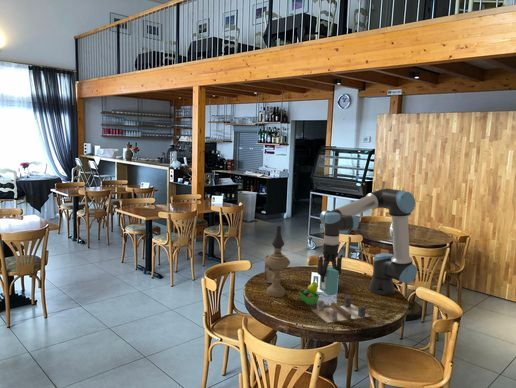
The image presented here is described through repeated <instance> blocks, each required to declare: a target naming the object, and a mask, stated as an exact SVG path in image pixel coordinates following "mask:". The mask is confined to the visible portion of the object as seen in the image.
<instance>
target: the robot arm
mask: <svg viewBox="0 0 516 388" xmlns="http://www.w3.org/2000/svg"><path fill="white" fill-rule="evenodd" d="M415 207H416V199H415V196H414V195H413V194H412V193H411V192H409V191H406V190H401V189H393V188H392V189H391V188H382V189H378V190H375V191H371V192H370V193H367V194H366V195H365V196H364V197H362V198H360V199H357V200H355V201H352V202H350V203H347V204H344V205H342V206H340V207H337V208H335V209H332V210H323V211H322V212H320V215H319V221H320V222H321V223H322V224H324V225H323V226H324V228H323V229H324V232H323V248H322V249H323V250H322V251H323V253H322V254H321V255H318V256H317V259H318V263H317V275H319V276H321V282H322V288H323V289H326V276H325V274H326V271H327V267H328V266H329V264H330V262H331V267H332V268H333V269H335V270H337V271H339V275H340V274H341V273H342V263H343V262H342V261H343V260H342V259H343V254H341V253H339V248H340V247H339V246H340V245H339V243H340V232H343V231H344V232H345V231H352V230H356V229H358V227H359V224H360V221H359V218H358V217H357V215H360V214H362V213H365V212H368V211H369V210H376V209H386V210H388V215H389V216H390V217H391V224H392V225H391V226H392V247H393V253H386V252H385V253H383V252H381V253H376V254H375V255H374V260H373V267H372V268H373V269H372V278H371V281H370V283H369V286H368V289H369V290H368V291H370V292H371V293H373V294H377V295H382V296H391V295H393V294H395V293H396V292H395V291H396V289H395V285H394V281H393V280H396V281H398V282H400V283H403V284H410V283H412V282H413V281H414V280H415V279H416V277H417V274H418V267H417V266H416V265H415V264H414V263H413V258H412V257H411V256H410V239H409V238H410V235H409V217H410V216H411V215H412V214H411V213H413V211H414V210H415Z"/></svg>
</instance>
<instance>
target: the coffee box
mask: <svg viewBox="0 0 516 388" xmlns="http://www.w3.org/2000/svg"><path fill="white" fill-rule="evenodd" d="M269 255H270V254H269ZM269 255H268V254H267V255H266V256H265V258H264V260H265V259H266V258H267V257H268V256H269ZM279 274H280V275H281V271H280V272H279ZM273 275H274V270H273V269H272V268H270V267H268V266H267V265H266V264H265V263H264V278H263V279H264V280H263V281H264V283H268V284H272V279H271V277H272V276H273Z"/></svg>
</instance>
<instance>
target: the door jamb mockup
mask: <svg viewBox="0 0 516 388" xmlns="http://www.w3.org/2000/svg"><path fill="white" fill-rule="evenodd" d="M343 298H344V299H343V305H339V304H337V303H336V302H330V307H329V306H328V307H325V300H323V299H320V300H319V299H318V301H317V304H316V308H314V309H311V311H312V312H313V313H314V314H315V315H317V316H318V317H320V319H322V320H323V321H324V322H325V323H327V324H328V323H335V322H341V321H348V320H355V319H361V318H371V315H370V314H369V313H366V310H367V308H366V306H364V305H359V306H356V305H354V304H352V297H350V296H345V297H343Z"/></svg>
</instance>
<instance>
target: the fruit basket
mask: <svg viewBox="0 0 516 388" xmlns="http://www.w3.org/2000/svg"><path fill="white" fill-rule="evenodd" d="M318 287H319V285H318V282H316V281H313V282H312V283H311V284H309V285H308V286H307V289H301V290H300V289H299V291H298V292H299V296H300V300H301V301H302V302H304V304H306V305H308V306H309V305H317V301H318V300H319V298H320V295H319V294H317V292H318Z"/></svg>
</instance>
